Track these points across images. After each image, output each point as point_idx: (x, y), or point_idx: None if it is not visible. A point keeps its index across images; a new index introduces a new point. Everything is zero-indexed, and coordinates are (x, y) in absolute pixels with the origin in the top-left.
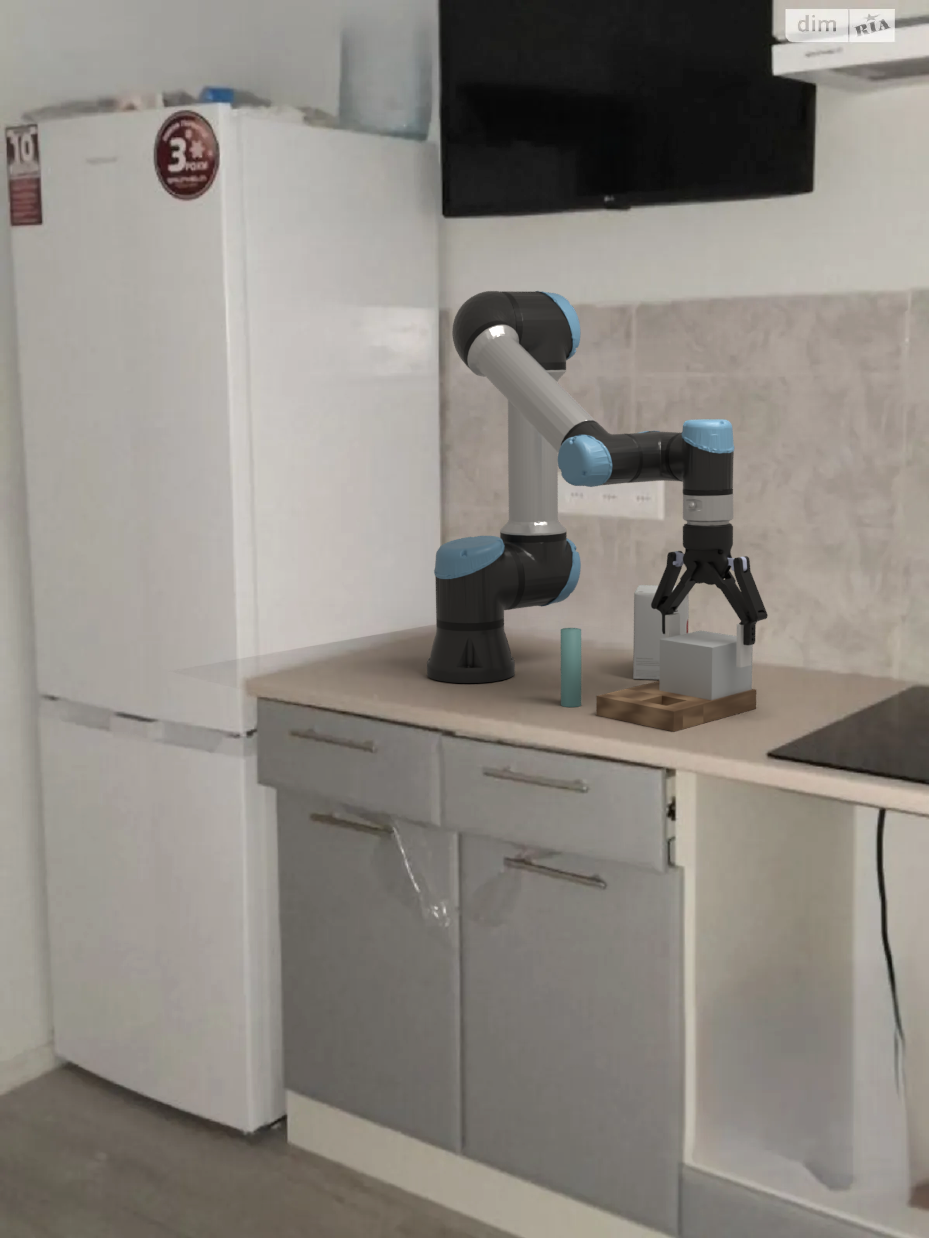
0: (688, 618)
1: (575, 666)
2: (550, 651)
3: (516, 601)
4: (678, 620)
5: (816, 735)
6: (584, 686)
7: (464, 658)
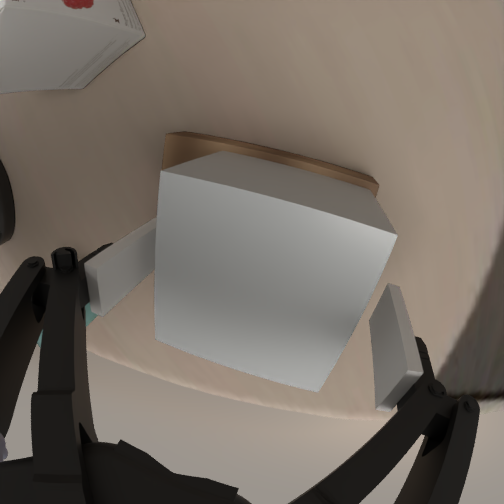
0: None
1: (89, 322)
2: None
3: None
4: (111, 265)
5: (482, 309)
6: (63, 173)
7: None
